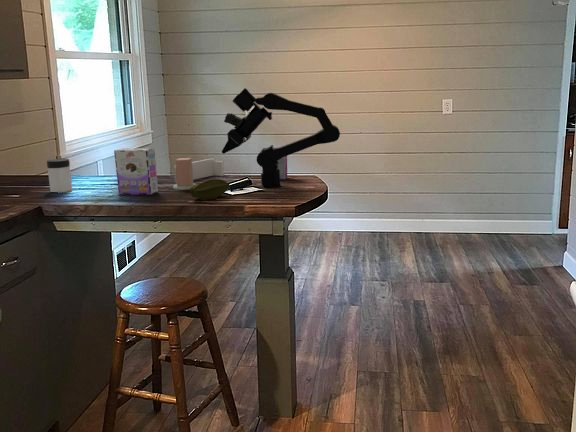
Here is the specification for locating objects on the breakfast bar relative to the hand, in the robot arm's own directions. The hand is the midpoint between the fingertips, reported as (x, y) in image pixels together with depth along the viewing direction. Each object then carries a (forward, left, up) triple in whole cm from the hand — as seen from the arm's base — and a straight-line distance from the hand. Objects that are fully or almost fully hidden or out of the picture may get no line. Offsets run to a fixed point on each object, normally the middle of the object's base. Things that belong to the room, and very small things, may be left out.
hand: (225, 151), depth 233 cm
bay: (+10, -22, -14) cm, 28 cm away
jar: (+63, -14, -14) cm, 66 cm away
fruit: (+7, +20, -14) cm, 25 cm away
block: (+16, -4, -13) cm, 20 cm away
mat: (+16, -4, -14) cm, 21 cm away
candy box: (+33, +1, -14) cm, 36 cm away
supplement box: (-21, -11, -14) cm, 28 cm away
